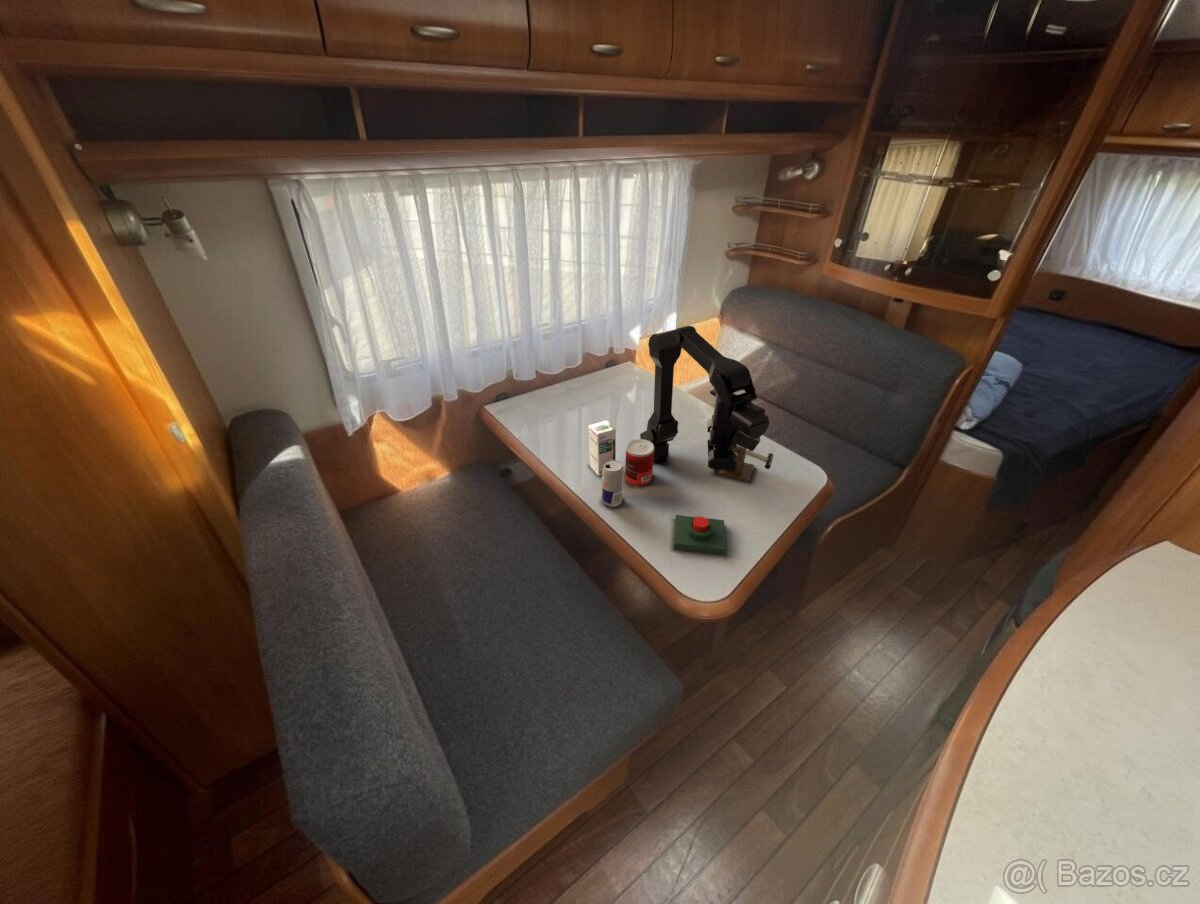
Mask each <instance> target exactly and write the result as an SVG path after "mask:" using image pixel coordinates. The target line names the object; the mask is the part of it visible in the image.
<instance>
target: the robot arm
mask: <svg viewBox="0 0 1200 904" xmlns="http://www.w3.org/2000/svg"><path fill="white" fill-rule="evenodd" d="M648 338H649V339H648V343H647V344H648V352H649V353H648V355H649V357H650V359H651V360H652V361H653V363H654V386H653V387H654V389H653V390H654V391H653V393H654V394H653V413H652V414H651V415H650V417H649V419H648V420H647V424H646V430H644V431H643V432H641V433H639V439H644V440H648V441H650V442H651V443H652V444H653V445H654V460H653V464H657V465H666V464H667V460H668V459H669V451H670V450H669V449H670V443H669V442H673V441H674V439H675V438H676V437H677V434H679V421H678V420H677V419H676V418H675V417H674V416H673V414H672V410H673V409H672V408H673V391H674V390H673V389H674V373H675V365H676V363H677V361H678V360H679V358H680V357H681V354H682V353H681V352H682V350H684V351H685V352H686V353H687V354H688V355H689V356H690V357H691V358H692V359H693V360H694V361H695V362H696V363H697V364H698V365H699V366H700V367H701V368H702V369H703V370H704V371H705V372H706V373H707V374H708V381H709V383H710V384H711V386H712V387H713V389H711V390H709V394H710V395H711V396H713V397H714V398H715V400H714V406H713V414H712V415H711V418H710V419H708V420H707V425H706V433H709V439H707V442H706V443H707V467H708V468H709V469H710V470H713V473H714V472H719V471H720V470H728V471H734V470H736V467H737V457H736V454H735V453H734V452H733V450H732V448H733V447H736V445H737V444H738V445H739V446H742V447H744V448H747V450H749V451H752V452H755V449H756V448H757V447H758V445H759V444H760V442H761V437H762V436H763V435H764V434H766V432H767V430H768V428H769V426H770V418H769V416H768V415H767V414H766V409H765V408H763V407H761V406H758V405H757V404H755V403H753V401H755V400H758V395H757V393H756V392H757V390H756V388H755V385H754V382H753V378H752V375H751V371H750V369H749V368H748V366H746V365H745V364H743V363H742V362H740V361H738V360H737V359H733V358H730V357H727V356H725V355H722V353H720V352H719V350H717V349H716V348H715V347H714V346H713V345H712V344H711V343H710V342H708V341H707V340H706V339H705V338H704V337H703V336H702V335H700V334H699V333H698V332H697V329H696V328H695V326H692V325H684V326H680V327H676V328H675V329H670V330H665V331H660V332H656V333H652V334H651V335H650V336H649V337H648ZM741 391H744V392H743V393H740V394H736V393H738V392H741Z"/></svg>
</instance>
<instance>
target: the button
mask: <svg viewBox="0 0 1200 904" xmlns="http://www.w3.org/2000/svg"><path fill="white" fill-rule="evenodd" d="M695 517H696V518H695V519H694V521H693V528H694V529H695V530H696V531H698V532H705V531H707V530H708V525H709V521H708V520H707V519H706V518H707V517H705V518H704V516H695Z"/></svg>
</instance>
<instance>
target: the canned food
mask: <svg viewBox="0 0 1200 904" xmlns="http://www.w3.org/2000/svg"><path fill="white" fill-rule="evenodd" d="M653 460H654V445H653V444H652V443H651V442H650V441H648V440H644V439H641V438H637V439H633V440H630V441H629V442H628V443H627V444H626V447H625V467H624V468H625V471H624V478H625V480H626V482H627V483H628V484H630V485H632V486H635V487H643V486H647V485H648V484H649V483H651V481H652V479H653V472H654V471H653V470H654V463H653Z"/></svg>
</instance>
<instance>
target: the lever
mask: <svg viewBox="0 0 1200 904" xmlns="http://www.w3.org/2000/svg"><path fill="white" fill-rule="evenodd" d="M736 446H739V445H738V444H737V445H736ZM739 447H742V446H739ZM745 454H746V456H749V457H751V458H754V459H756V460H758V461H761V462H763V463H765V464H764V468H765V469H767V470H769V469H771V466H772V462H773V459H774V453H771V452H770V453H768V454H767V456H764V455H762V454H759V453H757V452H755V451H750V450H748V449H746V451H745Z"/></svg>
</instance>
